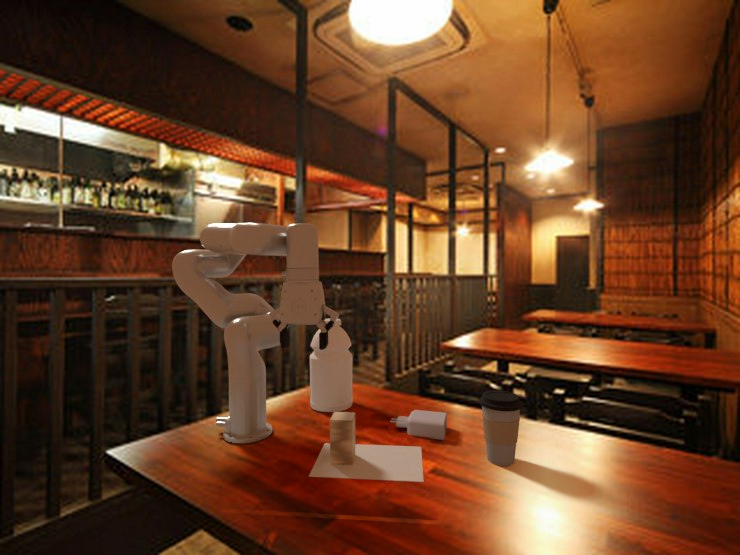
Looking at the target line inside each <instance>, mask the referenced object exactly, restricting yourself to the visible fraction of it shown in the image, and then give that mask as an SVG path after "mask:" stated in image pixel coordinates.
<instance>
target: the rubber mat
mask: <svg viewBox="0 0 740 555" xmlns="http://www.w3.org/2000/svg"><path fill="white" fill-rule="evenodd" d="M422 452H423V451H422V446H414V445H413V446H412V445H411V446H410V445H390V444H389V445H387V444H386V445H385V444H384V445H383V444H361V443H357V444H356V443H355V458H354V461H353V465H336V464H330V442H329V443H328V442H325V443H324V444H323V446H322V448H321V450H320V452H319V454H318V456H317V458H316V460H315V462H314V463H313V464H314V465H313V467H312V469H311V471H310V473H309V475H308V477H310V478H311V477H312V478H331V479H332V478H333V479H334V478H335V479H350V480H352V479H354V480H374V481H375V480H376V481H395V482H413V483H414V482H415V483H418V482H419V483H424V481H425V480H424V468H423V453H422Z"/></svg>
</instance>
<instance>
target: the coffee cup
mask: <svg viewBox="0 0 740 555" xmlns="http://www.w3.org/2000/svg"><path fill="white" fill-rule="evenodd" d="M478 402H479V405H481V409H482V413H481V414H482V415H481V417H482V426H483V434H484V440H485V448H486V457H487V460H488V461H489V463H491V464H494V465H497V466H499V467H509V466H512V465H513V464H514V463H515V458H516V449H517V443H518V436H519V429H520V420H521V419H520V418H521V417H520V413H521V409H522V408H523V403H522V400H520V397H519V396H518V394H516V393H514V392H510V391H507V390H500V389H499V390H497V389H495V390H494V389H493V390H487V391H484V392H483V393H482V396H481V397H480V398H479V400H478Z"/></svg>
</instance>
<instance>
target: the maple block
mask: <svg viewBox="0 0 740 555" xmlns="http://www.w3.org/2000/svg"><path fill="white" fill-rule="evenodd" d="M329 443H330V464H336V465H353V461H354V458H355V444H356V412H353V411H352V412H351V411H349V412H348V411H339V412H332V415H331V417H330V419H329Z"/></svg>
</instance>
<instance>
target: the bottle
mask: <svg viewBox="0 0 740 555" xmlns="http://www.w3.org/2000/svg"><path fill="white" fill-rule="evenodd" d="M330 319H331V317H330V318H329V317H328V318H325V322H326V323H328V322H329V321H330ZM341 326H342V320H341V319H340V318H337V320H336V322H335V325H334V326H333V327H332V328H331V329H330V330H329V331H328V345H327V348H325V349H323V350H320V349H319V333H321V330H320V329H319V328H318V330H317V331H315V334H314V335H313V338H312V340H311V342H310V345H309V346H310V348H311V349H312V350H313V351H312V352H311V353H310V355H309V390H310V391H309V394H310V395H309V396H310V397H309V398H310V399H309V404H310V405H309V406H310V408H312V409H313V410H315V411H317V412H322V413H334V412H344V411H346V410H348V409H350V408H351V407H352V406H353V404H354V403H353V402H354V397H353V359H354V358H353V353H352V352H351V351H350V350H349V349H350V347H351V346H352V341H351V338H350V336H349V335H348V333H347V332H346V330H344V328H342V327H341Z"/></svg>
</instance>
